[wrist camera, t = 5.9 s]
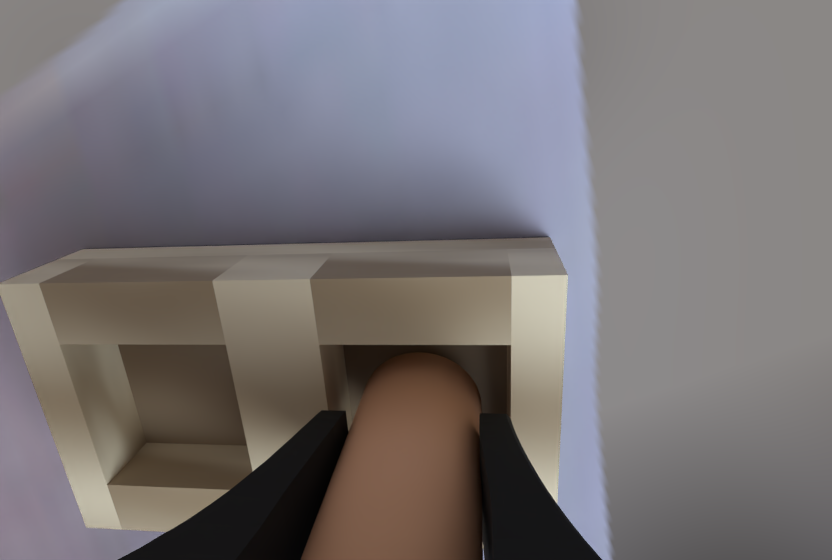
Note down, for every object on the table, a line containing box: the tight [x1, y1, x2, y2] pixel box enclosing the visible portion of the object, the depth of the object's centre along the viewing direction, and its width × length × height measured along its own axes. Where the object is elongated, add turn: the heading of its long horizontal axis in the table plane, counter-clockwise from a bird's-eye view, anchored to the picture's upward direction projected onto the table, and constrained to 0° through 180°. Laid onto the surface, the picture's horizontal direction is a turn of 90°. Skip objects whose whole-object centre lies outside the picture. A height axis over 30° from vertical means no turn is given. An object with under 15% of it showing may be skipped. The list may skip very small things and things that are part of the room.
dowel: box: [301, 352, 483, 560], centre depth 11 cm, size 3×3×7 cm
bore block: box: [0, 237, 568, 549], centre depth 15 cm, size 8×14×3 cm, turn 93°
